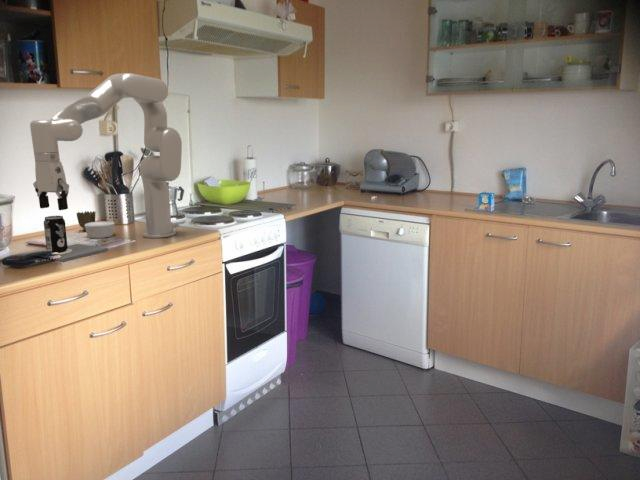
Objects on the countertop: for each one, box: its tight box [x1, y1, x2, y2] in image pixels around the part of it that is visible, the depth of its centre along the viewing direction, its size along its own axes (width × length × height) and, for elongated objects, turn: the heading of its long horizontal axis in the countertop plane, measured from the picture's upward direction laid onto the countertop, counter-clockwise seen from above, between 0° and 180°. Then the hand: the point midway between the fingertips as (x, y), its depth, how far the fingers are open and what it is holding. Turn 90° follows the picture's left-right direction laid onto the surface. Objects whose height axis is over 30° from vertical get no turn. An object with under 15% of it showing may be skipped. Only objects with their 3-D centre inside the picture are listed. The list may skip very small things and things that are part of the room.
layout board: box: [45, 243, 109, 263], centre depth 196 cm, size 18×16×1 cm
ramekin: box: [84, 220, 116, 239], centre depth 226 cm, size 11×11×5 cm
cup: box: [76, 210, 97, 233], centre depth 236 cm, size 8×7×8 cm
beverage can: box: [43, 215, 69, 253], centre depth 193 cm, size 7×7×12 cm
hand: (54, 208), depth 192 cm, fingers open, 9 cm apart
